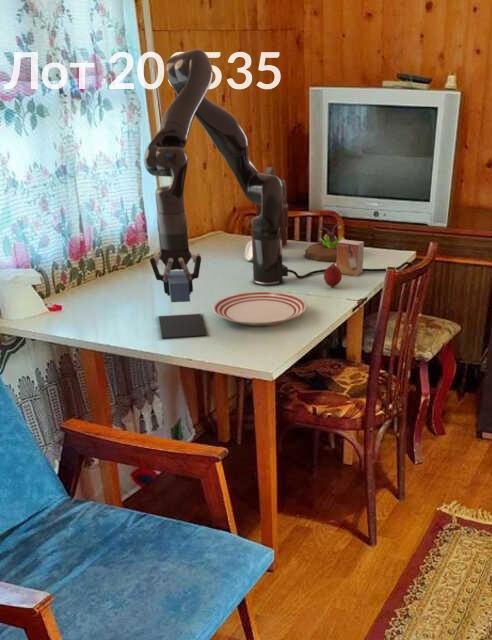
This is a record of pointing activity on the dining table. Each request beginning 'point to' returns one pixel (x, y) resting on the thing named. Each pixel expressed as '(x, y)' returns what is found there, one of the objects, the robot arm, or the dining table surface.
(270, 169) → the toy vending machine
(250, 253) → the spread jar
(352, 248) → the small box
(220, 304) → the dinner plate
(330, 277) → the onion
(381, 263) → the dining table surface
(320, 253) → the plant
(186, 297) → the blue block
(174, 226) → the robot arm
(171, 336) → the mat
